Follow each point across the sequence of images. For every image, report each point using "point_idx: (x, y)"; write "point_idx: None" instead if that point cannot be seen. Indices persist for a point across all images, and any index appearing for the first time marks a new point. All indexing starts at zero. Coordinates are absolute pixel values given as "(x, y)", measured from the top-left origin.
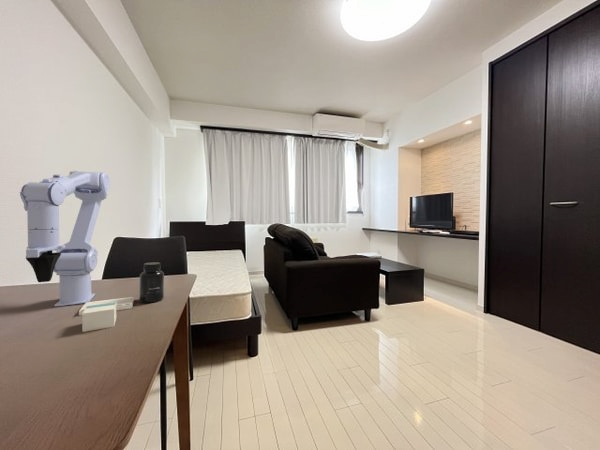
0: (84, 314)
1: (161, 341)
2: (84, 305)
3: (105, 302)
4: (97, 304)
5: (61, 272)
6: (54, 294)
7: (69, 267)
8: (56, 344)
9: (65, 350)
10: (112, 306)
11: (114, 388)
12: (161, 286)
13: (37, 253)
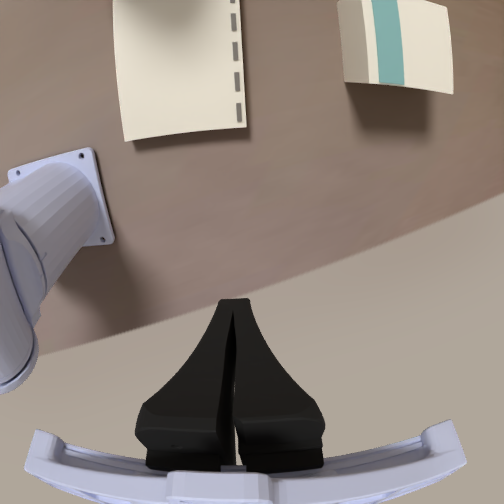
0: (450, 87)
1: None
2: (169, 131)
3: (154, 61)
4: (368, 47)
5: (34, 308)
6: None
7: (13, 298)
8: (461, 136)
9: (493, 117)
10: (416, 5)
11: None
12: None
13: (457, 440)
